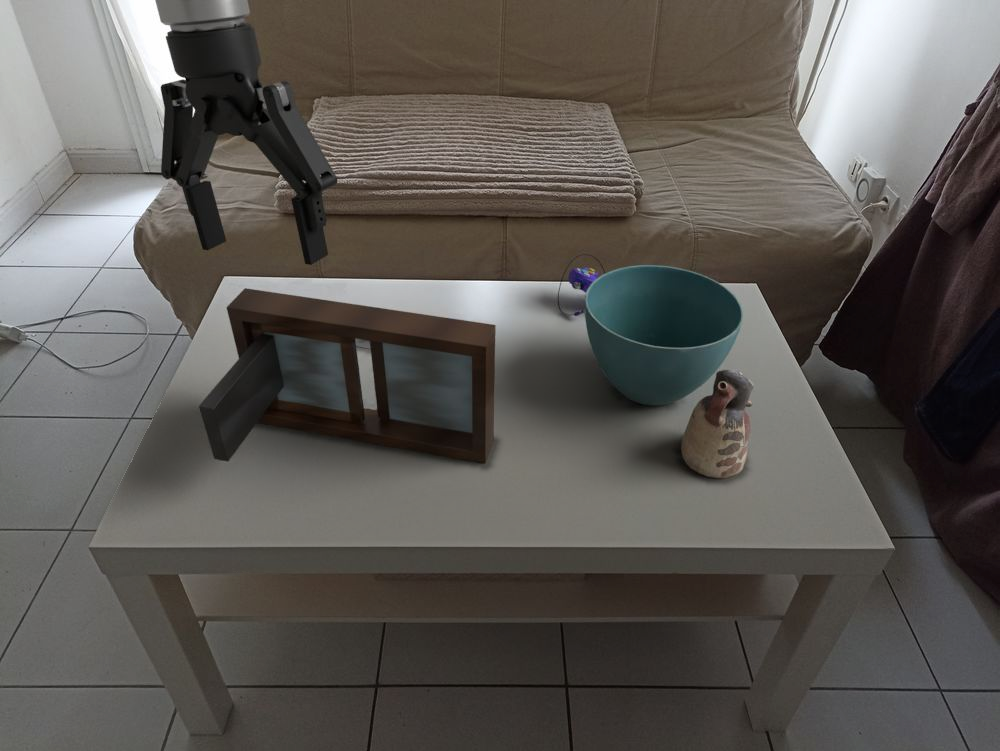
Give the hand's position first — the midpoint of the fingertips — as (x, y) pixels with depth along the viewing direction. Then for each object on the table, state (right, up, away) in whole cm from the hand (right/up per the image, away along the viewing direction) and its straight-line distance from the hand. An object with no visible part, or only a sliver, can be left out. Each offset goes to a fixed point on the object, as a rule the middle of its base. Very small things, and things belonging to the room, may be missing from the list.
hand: (264, 252), depth 77 cm
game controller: (+38, -3, +32) cm, 50 cm away
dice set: (+9, -7, +26) cm, 29 cm away
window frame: (+9, -19, +11) cm, 24 cm away
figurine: (+48, -22, +8) cm, 54 cm away
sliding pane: (+2, -21, +5) cm, 21 cm away
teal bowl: (+43, -14, +18) cm, 49 cm away
